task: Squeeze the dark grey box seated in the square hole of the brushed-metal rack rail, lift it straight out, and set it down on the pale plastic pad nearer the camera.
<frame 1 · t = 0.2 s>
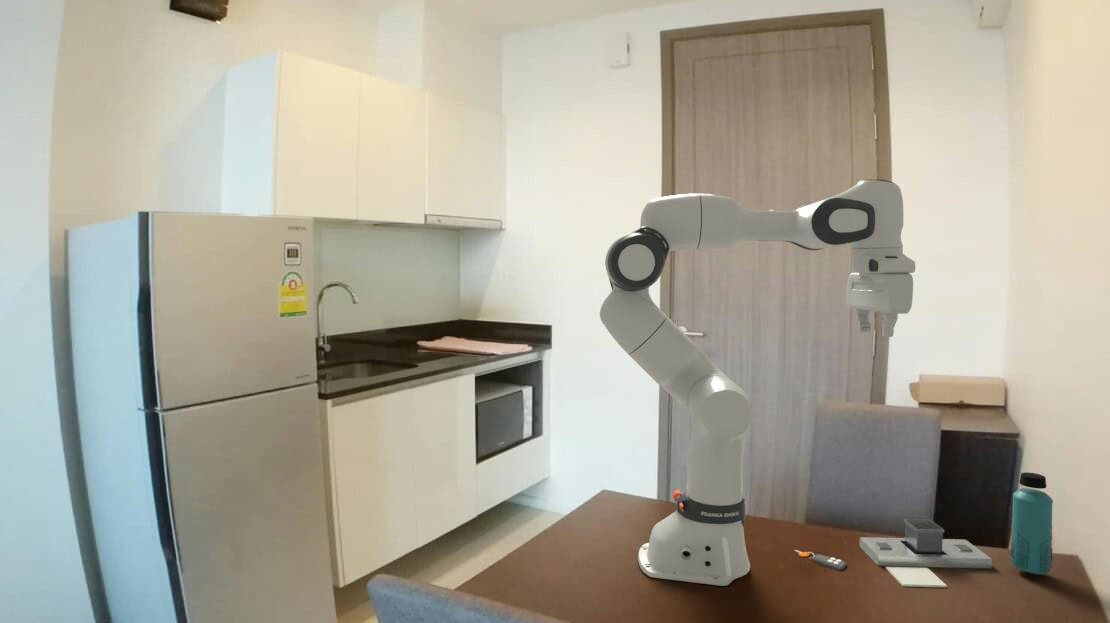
hand: (875, 334, 122), 47 cm above the table, fingers open, 8 cm apart
dark grey box: (922, 557, 130), resting in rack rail
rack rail: (922, 556, 130), on the table
key chain: (812, 560, 130), on the table
pad: (915, 577, 121), on the table
beverage bottle: (1029, 575, 122), on the table
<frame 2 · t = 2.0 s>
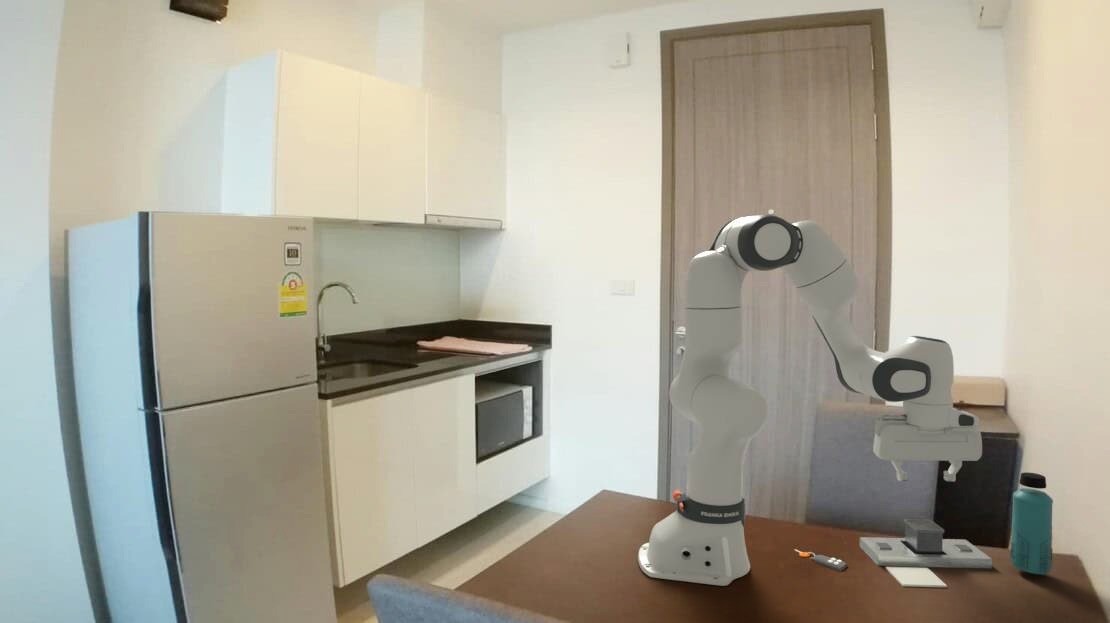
hand: (925, 480, 129), 16 cm above the table, fingers open, 8 cm apart
nothing on the table moved.
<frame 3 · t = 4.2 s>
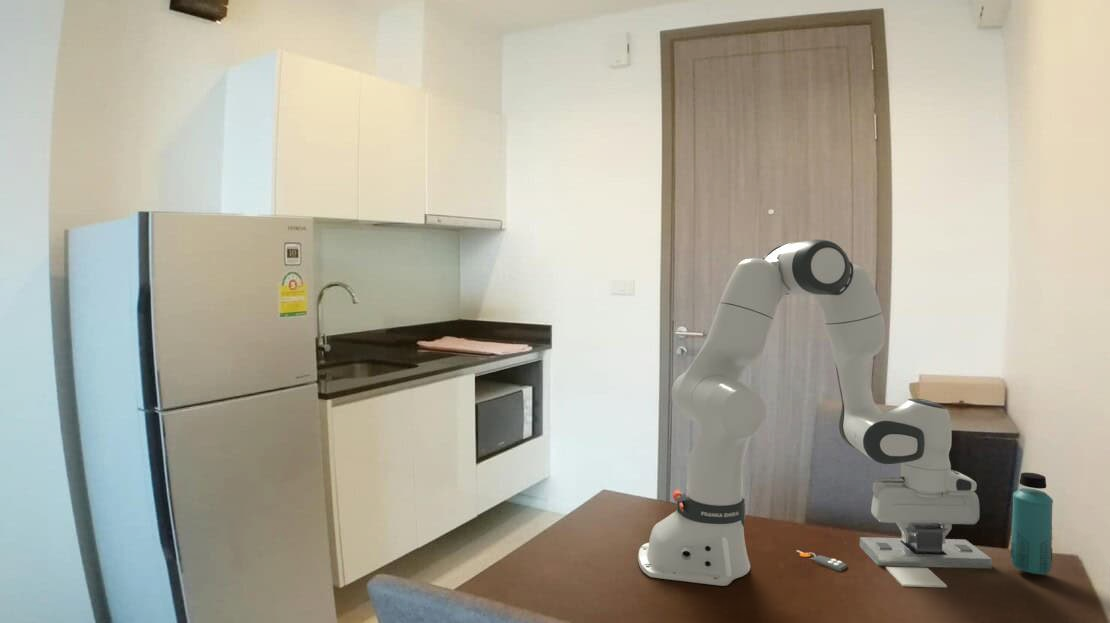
hand: (923, 542, 130), 3 cm above the table, fingers closed on dark grey box, 5 cm apart
dark grey box: (922, 556, 130), resting in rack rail, touching gripper
everything else where it was.
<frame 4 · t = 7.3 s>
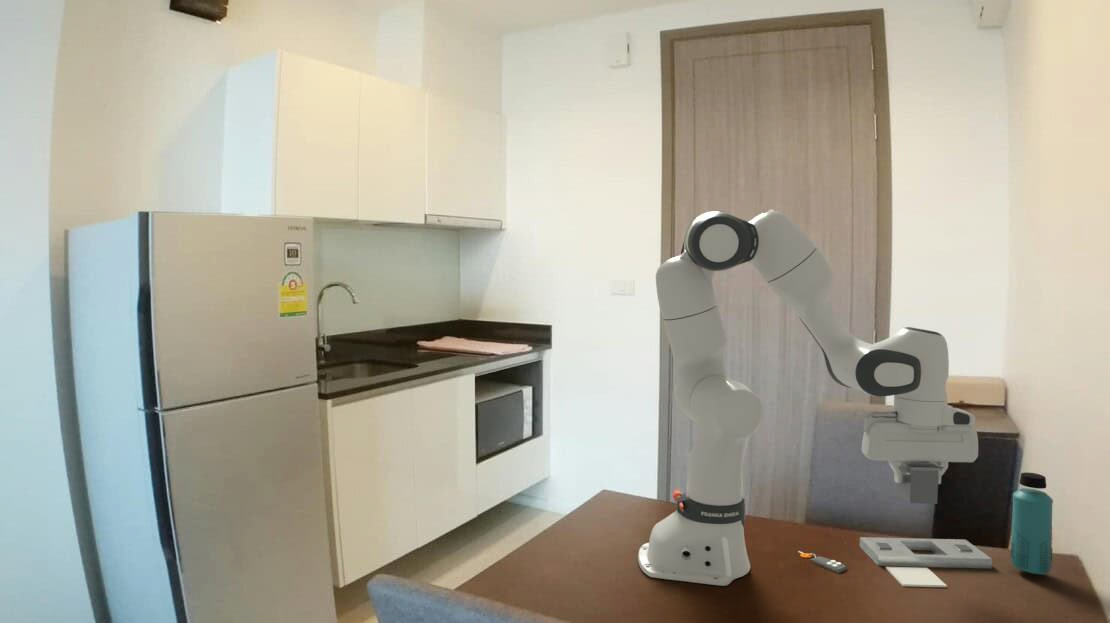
hand: (917, 482, 120), 19 cm above the table, fingers closed on dark grey box, 5 cm apart
dark grey box: (916, 498, 120), point 16 cm above the table, touching gripper
everything else where it was.
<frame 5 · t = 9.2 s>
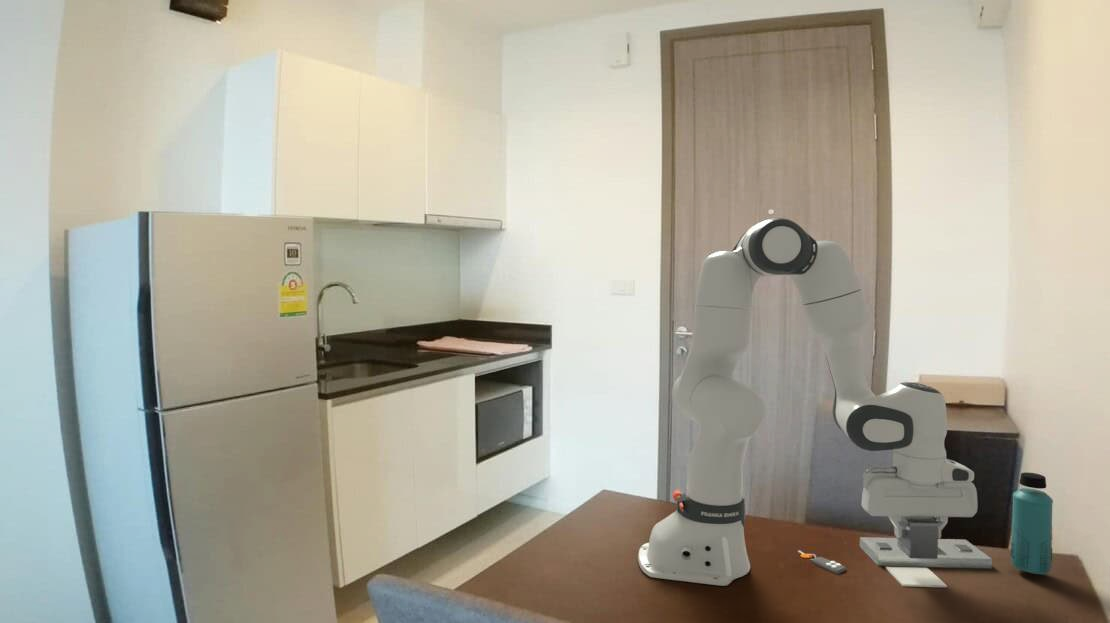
hand: (917, 537, 121), 8 cm above the table, fingers closed on dark grey box, 5 cm apart
dark grey box: (917, 552, 121), point 5 cm above the table, touching gripper
everything else where it was.
when the fingers open (5 cm above the table, at t = 10.7 s): dark grey box drops 1 cm, resting on pad.
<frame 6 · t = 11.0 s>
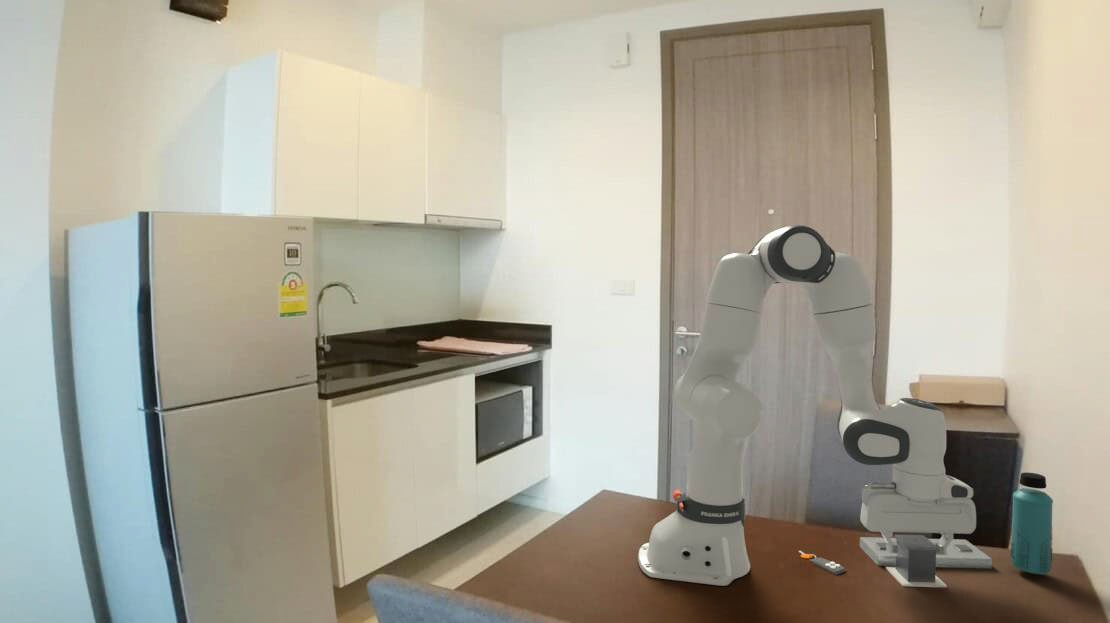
hand: (915, 552, 121), 5 cm above the table, fingers open, 8 cm apart
dark grey box: (914, 575, 121), resting on pad
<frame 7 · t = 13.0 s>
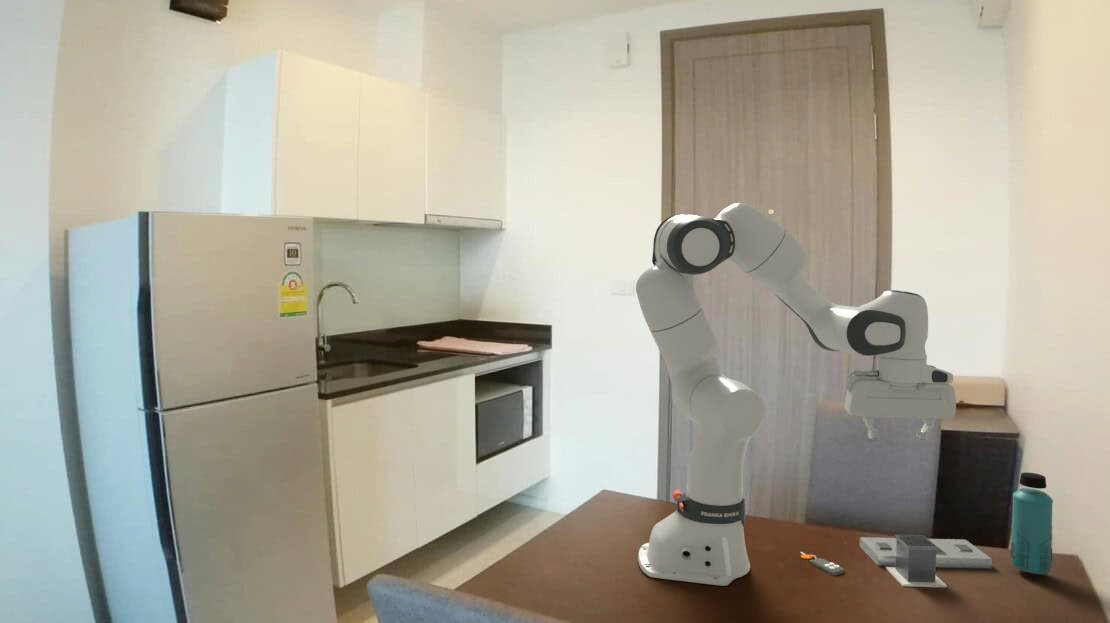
hand: (897, 439, 126), 26 cm above the table, fingers open, 8 cm apart
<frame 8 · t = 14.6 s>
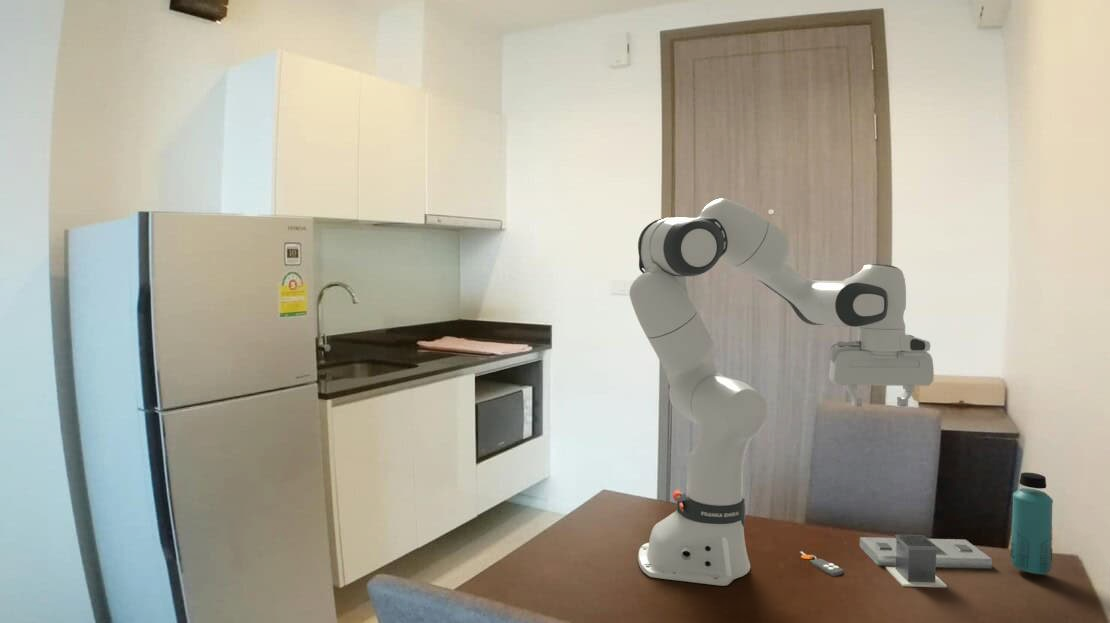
hand: (879, 406, 132), 31 cm above the table, fingers open, 8 cm apart
at the end: dark grey box inside the target area on the pad (0.1 cm from its centre), point 0.4 cm above the pad's base; dark grey box tilted 0°; dark grey box touching pad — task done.
